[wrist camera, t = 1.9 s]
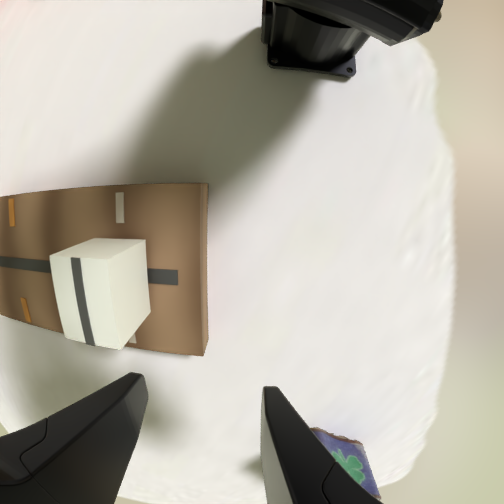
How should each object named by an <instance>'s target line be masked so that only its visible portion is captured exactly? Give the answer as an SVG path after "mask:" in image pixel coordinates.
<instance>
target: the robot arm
mask: <svg viewBox="0 0 504 504" xmlns="http://www.w3.org/2000/svg"><path fill="white" fill-rule="evenodd" d="M442 5H443V0H263V3H262V34H261V42H263V43H264V44H268V50H267V64H268V66H269V67H271V68H277V69H290V70H301V71H309V72H317V73H325V74H331V75H337V76H343V77H353V76H354V75H355V74H356V64H355V55H356V53H357V52H358V51H359V50H360V48H361V47H362V46H363V45H364V43H365V42H366V41H367V40H368V38H369V37H370V36H372V37H374V38H376V39H379V40H381V41H382V42H383V43H385V44H387V45H389V46H392V45H395V44H397V43H400V42H404V41H406V40H409V39H411V38H414V37H417V36H420V35H422V34H423V33H426V32H428V31H429V30H430V29H431V27H432V25H433V23H434V22H438V21H439V20H440V18H441V12H440V10H441V7H442ZM272 60H276V61H277V63H272V62H271V61H272ZM346 69H349V70H350V71H351V73H349V72H347V70H346ZM147 402H148V391H147V387H146V382H145V378H144V376H143V375H142V374H139V373H133V372H131V373H128V374H126V375H125V376H123V377H121V378H119V379H118V380H116V381H114V382H112V383H111V384H109V385H107V386H105V387H103V388H102V389H100V390H98V391H96V392H94V393H92V394H91V395H89V396H87V397H85V398H83V399H81V400H79V401H78V402H76V403H74V404H72V405H70V406H68V407H66V408H64V409H62V410H61V411H59V412H57V413H55V414H53V415H51V416H49V417H48V418H45V419H43V420H41V421H39V422H37V423H35V424H32V425H30V426H28V427H26V428H23V429H21V430H18V431H16V432H13V433H10V434H7V435H4V436H1V437H0V504H114V502H115V499H116V497H117V494H118V491H119V488H120V485H121V483H122V480H123V477H124V475H125V472H126V469H127V466H128V464H129V461H130V459H131V456H132V453H133V451H134V448H135V445H136V443H137V440H138V437H139V433H140V429H141V425H142V421H143V417H144V413H145V409H146V405H147ZM260 447H261V461H262V469H263V476H264V483H265V490H266V497H267V504H383V503H382V502H380V501H379V500H378V499H377V498H375V497H374V496H373V495H371V494H370V493H369V492H368V491H367V490H366V489H364V488H363V487H362V486H361V485H360V484H359V483H358V482H356V481H355V479H354V478H353V477H352V476H351V475H350V474H349V473H348V472H347V471H346V470H345V469H344V468H343V467H342V465H341V464H340V463H339V462H338V461H337V462H336V459H335V458H334V456H333V455H332V454H331V453H330V452H329V451H328V449H327V448H326V447H325V446H324V445H323V443H322V442H321V441H320V440H319V439H318V437H317V436H316V435H315V434H314V432H313V431H312V430H311V429H310V428H309V426H308V425H307V424H306V423H305V421H304V420H303V419H302V418H301V416H300V415H299V414H298V413H297V411H296V410H295V409H294V407H293V406H292V405H291V404H290V402H289V401H288V400H287V398H286V397H285V396H284V395H283V393H282V392H281V391H280V389H279V388H278V387H276V386H264V387H263V392H262V404H261V446H260Z"/></svg>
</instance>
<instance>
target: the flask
mask: <svg viewBox="0 0 504 504" xmlns="http://www.w3.org/2000/svg"><path fill="white" fill-rule="evenodd" d="M310 429H311V430H312V431H313V432H314V434H315V435H316V436H317V437H318V439H319V440H320V441H321V442H322V443H323V445H324V446H325V447H326V448H327V449H328V451H329V452H330V453H331V454H332V455H333V456H334V458H335V459H336V462H337V461H338V462H339V463H340V464H341V465H342V467H343V468H344V469H345V470H346V471H347V472H348V473H349V474H350V475H351V476H352V477H353V478H354V479H355V481H356V482H358V483H359V484H360V485H361V486H362V487H363V488H364V489H366V490H367V491H368V492H369V493H370V494H371V495H373V496H374V497H375V498H377V499H378V500H379V501H380V499H381V496H380V494H379V491H378V489H377V485H376V482H375V480H374V477H373V474H372V471H371V468H370V465H369V462H368V459H367V456H366V452H365V450H364V446H363V444H362V443H360V442H359V441H357V440H355V441H353V440H350V439H348V438H346V437H345V436H334V435H333V434H334V433H327V432H326V431H324V430H322V429H320V428H318V427H316V428H310Z"/></svg>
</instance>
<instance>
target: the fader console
mask: <svg viewBox="0 0 504 504" xmlns="http://www.w3.org/2000/svg"><path fill="white" fill-rule="evenodd" d="M207 204H208V184H207V183H159V184H129V185H110V186H94V187H81V188H69V189H59V190H49V191H40V192H32V193H24V194H17V195H10V196H3V197H0V314H1V315H3V316H6V317H9V318H12V319H15V320H18V321H21V322H25V323H28V324H31V325H35V326H38V327H42V328H45V329H49V330H53V331H56V332H60V333H64V331H63V327H62V323H61V319H60V314H59V310H58V305H57V300H56V295H55V290H54V284H53V278H52V272H51V264H50V257H49V256H50V255H52V254H55V253H57V252H60V251H62V250H65V249H67V248H70V247H72V246H75V245H77V244H80V243H83V242H85V241H88V240H91V239H93V238H109V239H142V240H146V261H147V276H148V289H149V300H150V310H151V312H150V314H149V315H148V316H147V317H146V319H145V320H144V321H143V322H142V324H141V325H140V326H139V327H138V329H137V330H136V331H135V333H134V334H133V335H132V336H131V338H130V339H129V340H128V342H127V343H126V344H125V346H127V347H133V348H139V349H145V350H152V351H159V352H167V353H175V354H184V355H194V356H204V352H205V349H206V346H207V342H208V307H207Z"/></svg>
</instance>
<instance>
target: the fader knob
mask: <svg viewBox="0 0 504 504" xmlns="http://www.w3.org/2000/svg"><path fill="white" fill-rule="evenodd" d="M49 257H50V264H51V272H52V278H53V284H54V290H55V295H56V300H57V305H58V310H59V314H60V319H61V323H62V327H63V331H64V335H65V338H67V339H71V340H75V341H79V342H84V343H86V344H88V345H92V346H95V345H97V346H102V347H107V348H112V349H117V350H121V349H122V348H123V347H124V346H125V344H126V343H127V342H128V340H129V339H130V338H131V336H132V335H133V334H134V333H135V331H136V330H137V329H138V327H139V326H140V325H141V324H142V322H143V321H144V320H145V319H146V317H147V316H148V315H149V314H150V312H151V310H150V300H149V289H148V276H147V261H146V240H142V239H109V238H93V239H91V240H88V241H85V242H83V243H80V244H77V245H75V246H72V247H70V248H67V249H65V250H62V251H60V252H57V253H55V254H52V255H50V256H49Z"/></svg>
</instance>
